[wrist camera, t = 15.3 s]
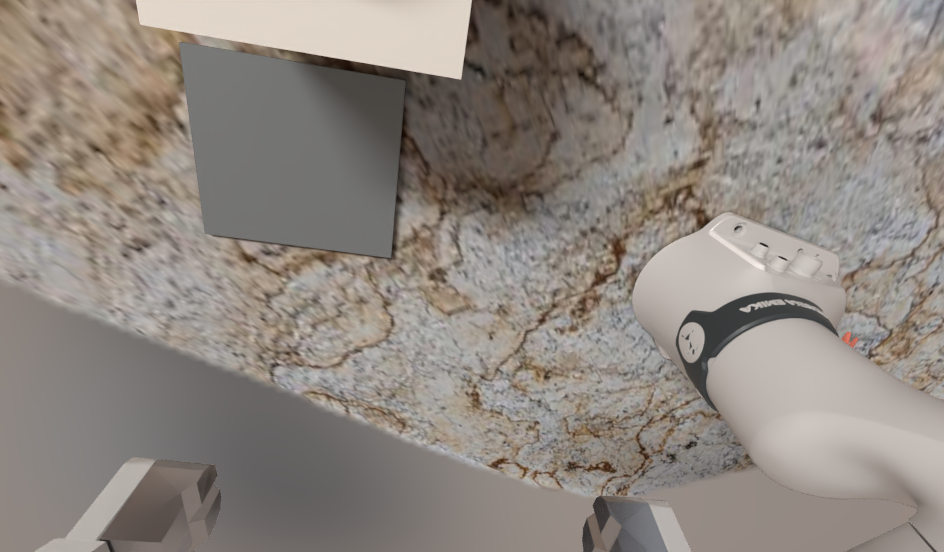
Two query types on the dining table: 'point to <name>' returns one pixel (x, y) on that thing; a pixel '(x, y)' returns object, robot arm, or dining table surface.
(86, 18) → the dining table surface
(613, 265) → the dining table surface
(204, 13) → the cube with grey knob
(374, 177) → the mat
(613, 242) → the dining table surface
